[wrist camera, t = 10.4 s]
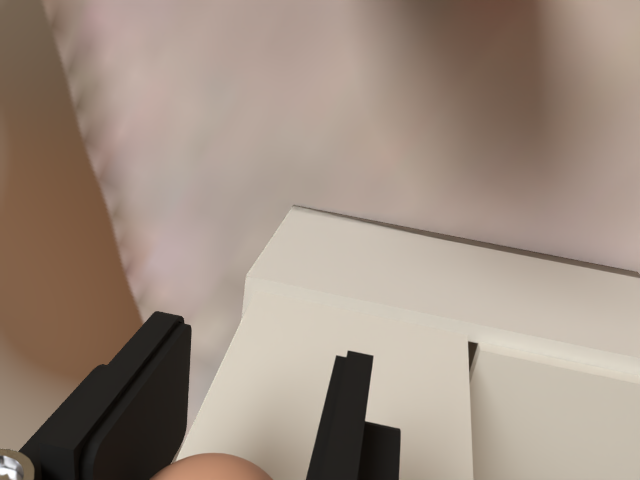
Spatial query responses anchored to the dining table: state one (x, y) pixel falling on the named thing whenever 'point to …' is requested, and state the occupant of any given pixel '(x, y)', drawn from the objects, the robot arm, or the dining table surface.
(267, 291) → the carton
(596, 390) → the flap
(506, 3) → the dining table surface
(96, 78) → the dining table surface
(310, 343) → the flap
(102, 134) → the dining table surface
